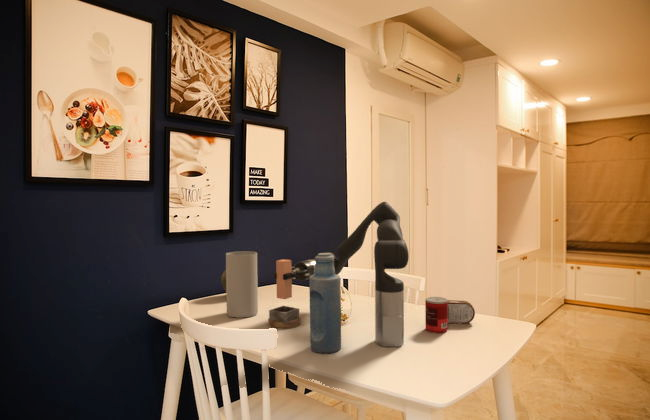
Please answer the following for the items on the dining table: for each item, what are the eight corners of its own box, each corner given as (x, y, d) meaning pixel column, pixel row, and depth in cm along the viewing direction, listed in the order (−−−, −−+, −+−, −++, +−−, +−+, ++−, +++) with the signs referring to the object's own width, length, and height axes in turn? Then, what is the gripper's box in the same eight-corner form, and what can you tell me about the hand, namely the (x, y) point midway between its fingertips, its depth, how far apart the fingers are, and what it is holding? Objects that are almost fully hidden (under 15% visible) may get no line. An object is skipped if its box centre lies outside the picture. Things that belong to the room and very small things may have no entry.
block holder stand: (306, 322, 160) (306, 308, 160) (286, 330, 150) (286, 315, 150) (282, 317, 167) (282, 303, 167) (261, 325, 157) (261, 310, 157)
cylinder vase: (235, 320, 164) (234, 256, 163) (221, 313, 173) (220, 253, 173) (263, 314, 172) (262, 253, 171) (248, 308, 181) (247, 250, 180)
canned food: (447, 327, 153) (447, 297, 153) (447, 334, 145) (447, 302, 145) (425, 325, 155) (425, 296, 155) (425, 332, 147) (425, 301, 147)
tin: (473, 322, 159) (473, 300, 159) (475, 324, 156) (475, 302, 156) (433, 321, 161) (433, 299, 161) (434, 323, 158) (434, 301, 157)
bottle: (347, 348, 132) (347, 253, 131) (325, 356, 125) (324, 256, 125) (326, 341, 139) (325, 250, 138) (303, 348, 132) (303, 253, 131)
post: (291, 297, 159) (291, 260, 158) (284, 299, 156) (284, 261, 155) (283, 295, 161) (283, 259, 161) (276, 297, 158) (276, 260, 157)
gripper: (293, 258, 174) (264, 264, 160) (321, 261, 165) (293, 268, 151) (294, 277, 174) (265, 284, 160) (321, 280, 166) (293, 289, 152)
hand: (279, 276), depth 156 cm, fingers closed on post, 4 cm apart
